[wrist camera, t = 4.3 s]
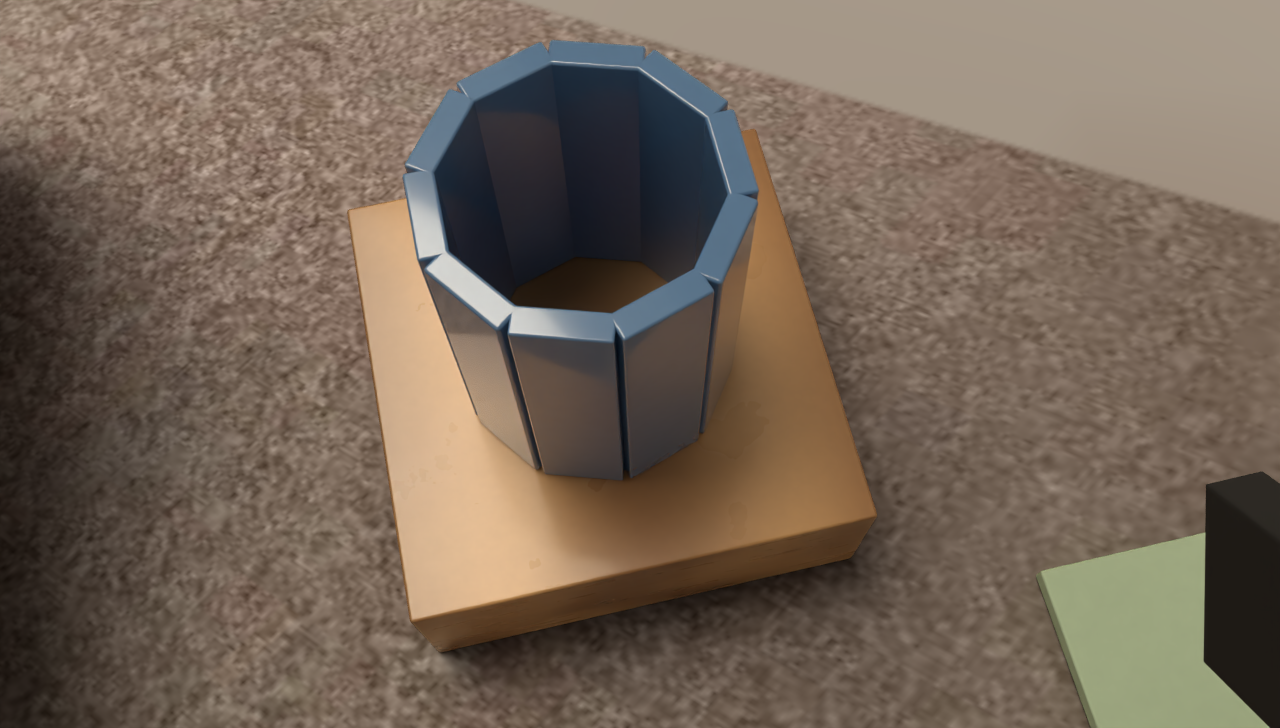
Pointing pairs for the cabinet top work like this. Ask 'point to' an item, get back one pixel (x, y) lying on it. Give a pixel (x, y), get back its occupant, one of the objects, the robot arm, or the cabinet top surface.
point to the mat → (1141, 639)
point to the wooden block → (601, 508)
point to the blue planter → (586, 249)
